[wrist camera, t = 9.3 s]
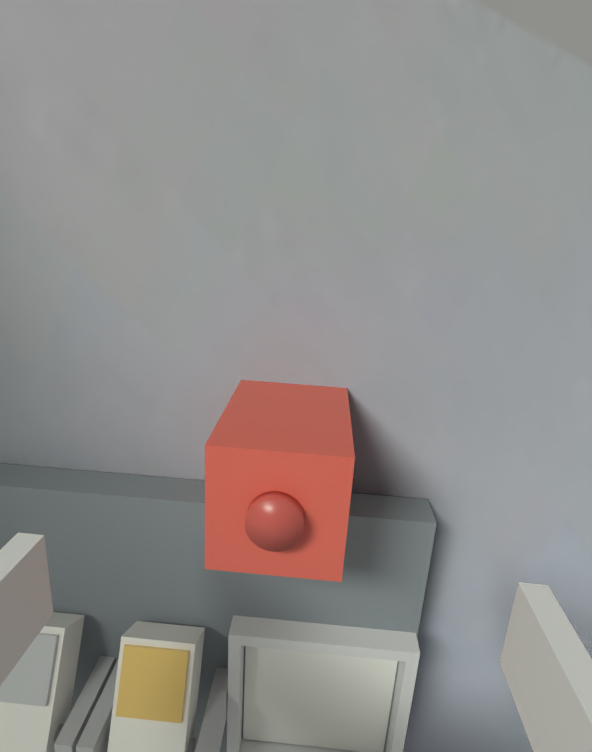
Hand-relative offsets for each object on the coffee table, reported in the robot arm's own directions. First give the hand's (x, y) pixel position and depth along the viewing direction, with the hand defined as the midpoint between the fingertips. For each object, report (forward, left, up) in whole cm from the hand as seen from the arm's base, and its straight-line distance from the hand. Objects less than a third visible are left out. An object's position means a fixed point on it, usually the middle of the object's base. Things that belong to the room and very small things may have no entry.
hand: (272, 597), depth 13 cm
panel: (+14, -4, -11) cm, 18 cm away
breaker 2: (+14, -6, -5) cm, 16 cm away
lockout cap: (0, 0, -11) cm, 11 cm away
